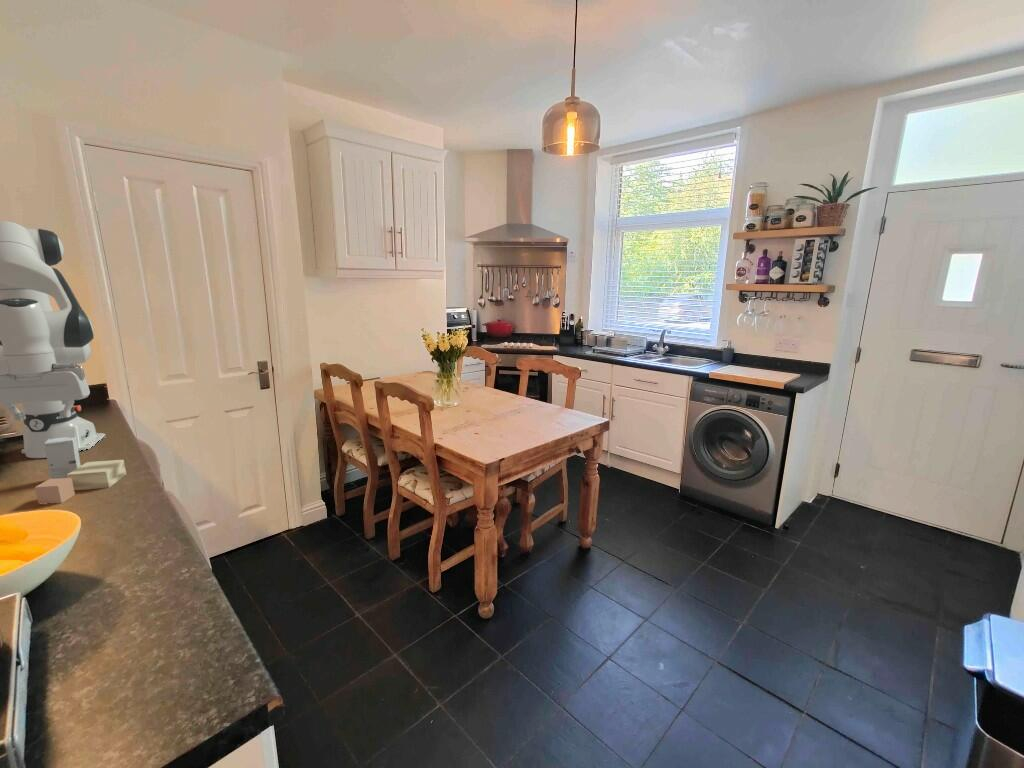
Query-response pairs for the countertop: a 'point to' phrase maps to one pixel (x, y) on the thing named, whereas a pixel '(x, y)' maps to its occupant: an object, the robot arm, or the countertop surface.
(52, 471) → the skincare box
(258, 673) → the countertop surface
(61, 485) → the terracotta cube
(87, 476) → the birch block
